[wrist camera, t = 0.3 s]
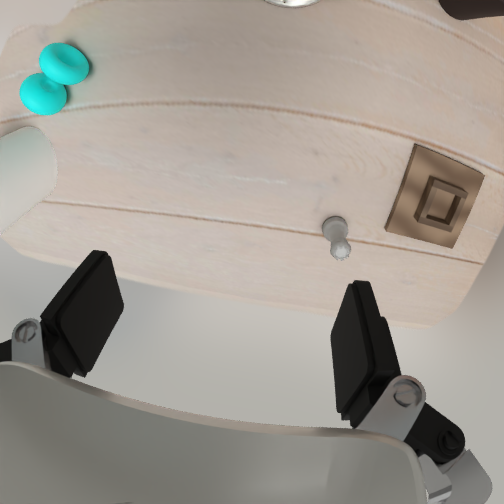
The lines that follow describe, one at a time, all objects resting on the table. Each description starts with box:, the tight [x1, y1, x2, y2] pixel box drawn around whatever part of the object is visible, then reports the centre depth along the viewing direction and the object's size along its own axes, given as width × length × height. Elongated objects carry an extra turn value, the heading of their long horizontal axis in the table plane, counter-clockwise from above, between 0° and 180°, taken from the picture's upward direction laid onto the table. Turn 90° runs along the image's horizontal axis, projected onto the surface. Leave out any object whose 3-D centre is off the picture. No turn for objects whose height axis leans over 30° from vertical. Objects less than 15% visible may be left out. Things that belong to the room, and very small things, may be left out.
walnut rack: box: [385, 144, 485, 248], centre depth 41 cm, size 16×16×3 cm
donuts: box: [20, 43, 89, 115], centre depth 32 cm, size 10×10×10 cm
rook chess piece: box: [322, 217, 351, 261], centre depth 45 cm, size 4×4×8 cm
